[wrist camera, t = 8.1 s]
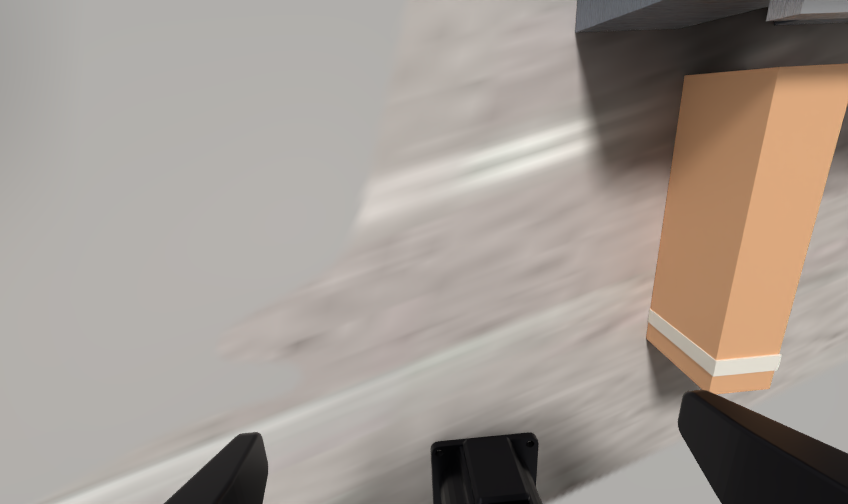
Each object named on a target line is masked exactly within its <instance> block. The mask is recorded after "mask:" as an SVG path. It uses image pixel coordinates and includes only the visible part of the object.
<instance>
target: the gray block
mask: <svg viewBox="0 0 848 504" xmlns="http://www.w3.org/2000/svg"><path fill="white" fill-rule="evenodd" d="M768 6H769V8H768V13H767V18H766V21H775V23H774V25H793V24H821V23H848V0H578V1H577V16H576V30H575V32H602V31H630V30H657V29H680V28H684V27H688V26H692V25H696V24H700V23H704V22H708V21H712V20H716V19H720V18H724V17H728V16H732V15H736V14H740V13H744V12H748V11H752V10H756V9H760V8H764V7H768Z"/></svg>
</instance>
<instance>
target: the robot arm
mask: <svg viewBox="0 0 848 504" xmlns="http://www.w3.org/2000/svg"><path fill="white" fill-rule="evenodd" d="M678 427H679V431H680V433H681V435H682V437H683V439H684V440H685V442H686V444H687V446H688V447H689V449H690V451H691V452H692V454H693V456H694V457H695V459H696V461H697V463H698V464H699V466H700V468H701V470H702V471H703V473H704V475H705V476H706V478H707V480H708V481H709V483H710V485H711V487H712V488H713V490H714V492H715V493H716V495H717V497H718V498H719V500H720V502H721V503H722V504H848V453H845V452H843V451H841V450H839V449H836V448H834V447H832V446H830V445H828V444H825V443H823V442H821V441H819V440H816V439H814V438H812V437H810V436H807V435H805V434H803V433H801V432H798V431H796V430H794V429H792V428H790V427H787V426H785V425H783V424H781V423H778V422H776V421H774V420H772V419H769V418H767V417H765V416H763V415H761V414H758V413H756V412H754V411H752V410H750V409H747V408H745V407H743V406H741V405H738V404H736V403H734V402H732V401H729V400H727V399H725V398H723V397H721V396H718V395H716V394H714V393H712V392H709V391H707V390H694V391H687V392H685V394H684V395H683V398H682V403H681V408H680V413H679V418H678ZM528 441H530V442H528ZM437 450H441V451H437ZM537 458H538V440H537V438H536V436H535V434H533V433H520V434H509V435H499V436H489V437H479V438H469V439H459V440H449V441H439V442H435V443H434V444H432V446H431V467H432V488H433V504H542V502H541V499H540V497H539V494H538V491H537V489H536V474H537ZM267 476H268V461H267V457H266V452H265V447H264V443H263V439H262V436H261V434H260V433H258V432H253V433H242V434H239V435H238V436H236V437H235V438H234V439H233V440H232V441H231V442H230V443H229V444H227V445H226V446H225V447H224V448H223V449H222V450H221V451H220V452H219V453H218V454H217V455H216V456H215V457H214V458H212V459H211V460H210V461H209V462H208V463H207V464H206V465H205V466H204V467H203V468H202V469H201V470H200V471H198V472H197V473H196V474H195V475H194V476H193V477H192V478H191V479H190V480H189V481H188V482H187V483H186V484H184V485H183V486H182V487H181V488H180V489H179V490H178V491H177V492H176V493H175V494H174V495H173V496H172V497H171V498H169V499H168V500H167V501H166V502H165V503H164V504H262V503H263V498H264V493H265V487H266V482H267Z"/></svg>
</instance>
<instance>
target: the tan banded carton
mask: <svg viewBox="0 0 848 504" xmlns="http://www.w3.org/2000/svg"><path fill="white" fill-rule="evenodd" d="M847 104H848V63H847V64H828V65H809V66H790V67H774V68H763V69H752V70H741V71H729V72H718V73H707V74H696V75H685V77H684V84H683V90H682V97H681V104H680V111H679V118H678V124H677V131H676V138H675V145H674V152H673V158H672V165H671V172H670V179H669V186H668V193H667V199H666V206H665V213H664V220H663V227H662V233H661V240H660V247H659V254H658V261H657V267H656V274H655V281H654V288H653V295H652V301H651V308H650V309H649V316H648V329H647V336H646V339H647V340H648V341H650V342H651V343H652V344H653V345H654V346H655V347H656V348H657V349H658V350H659V351H661V352H662V353H663V354H664V355H665V356H666V357H667V358H668V359H669V360H670V361H672V362H673V363H674V364H675V365H676V366H677V367H678V368H679V369H680V370H681V371H682V372H684V373H685V374H686V375H687V376H688V377H689V378H690V379H691V380H692V381H693V382H695V383H696V384H697V385H698V386H699V387H700V388H701V389H702V390H707V391H709V392H712V393H714V394H724V393H734V392H743V391H753V390H763V389H770V385H771V381H772V378H773V374H774V371H775V370H778V368H779V364H780V360H781V357H782V355H781V354H779V352H780V348H781V345H782V341H783V337H784V334H785V330H786V327H787V323H788V319H789V316H790V312H791V308H792V305H793V301H794V297H795V294H796V290H797V286H798V283H799V279H800V275H801V272H802V268H803V264H804V261H805V257H806V254H807V250H808V246H809V243H810V239H811V235H812V232H813V228H814V224H815V221H816V217H817V213H818V210H819V206H820V202H821V199H822V195H823V191H824V188H825V184H826V181H827V177H828V173H829V170H830V166H831V162H832V159H833V155H834V151H835V148H836V144H837V140H838V137H839V133H840V129H841V126H842V122H843V119H844V115H845V111H846V108H847Z"/></svg>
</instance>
